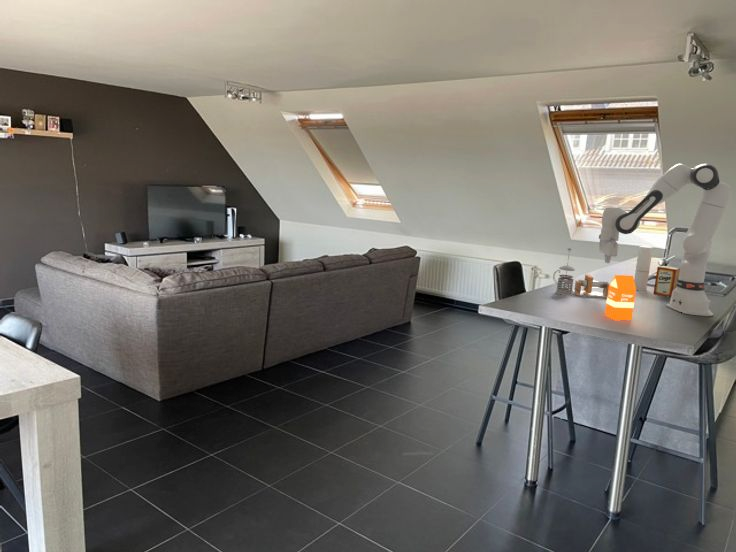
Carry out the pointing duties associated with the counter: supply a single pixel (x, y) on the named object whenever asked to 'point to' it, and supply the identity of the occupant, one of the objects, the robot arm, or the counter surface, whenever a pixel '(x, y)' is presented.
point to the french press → (565, 281)
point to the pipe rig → (595, 285)
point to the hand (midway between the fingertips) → (607, 262)
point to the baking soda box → (666, 280)
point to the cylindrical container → (643, 267)
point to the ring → (590, 281)
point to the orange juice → (621, 298)
